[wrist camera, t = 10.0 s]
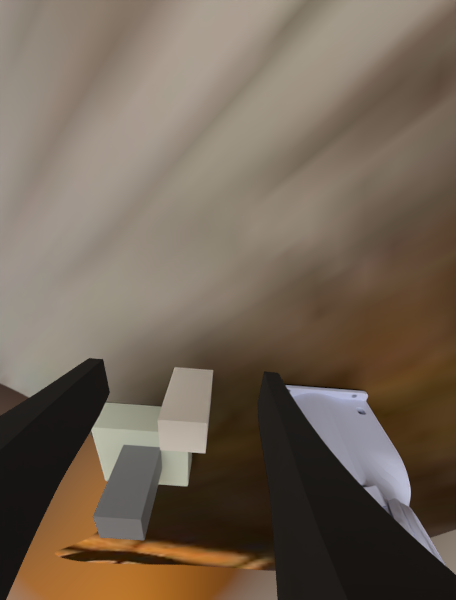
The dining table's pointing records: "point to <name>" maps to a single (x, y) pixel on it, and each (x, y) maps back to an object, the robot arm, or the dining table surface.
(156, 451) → the grey rectangular prism
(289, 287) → the dining table surface
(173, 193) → the dining table surface
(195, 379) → the off-white pillar
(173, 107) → the dining table surface
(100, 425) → the sage board
